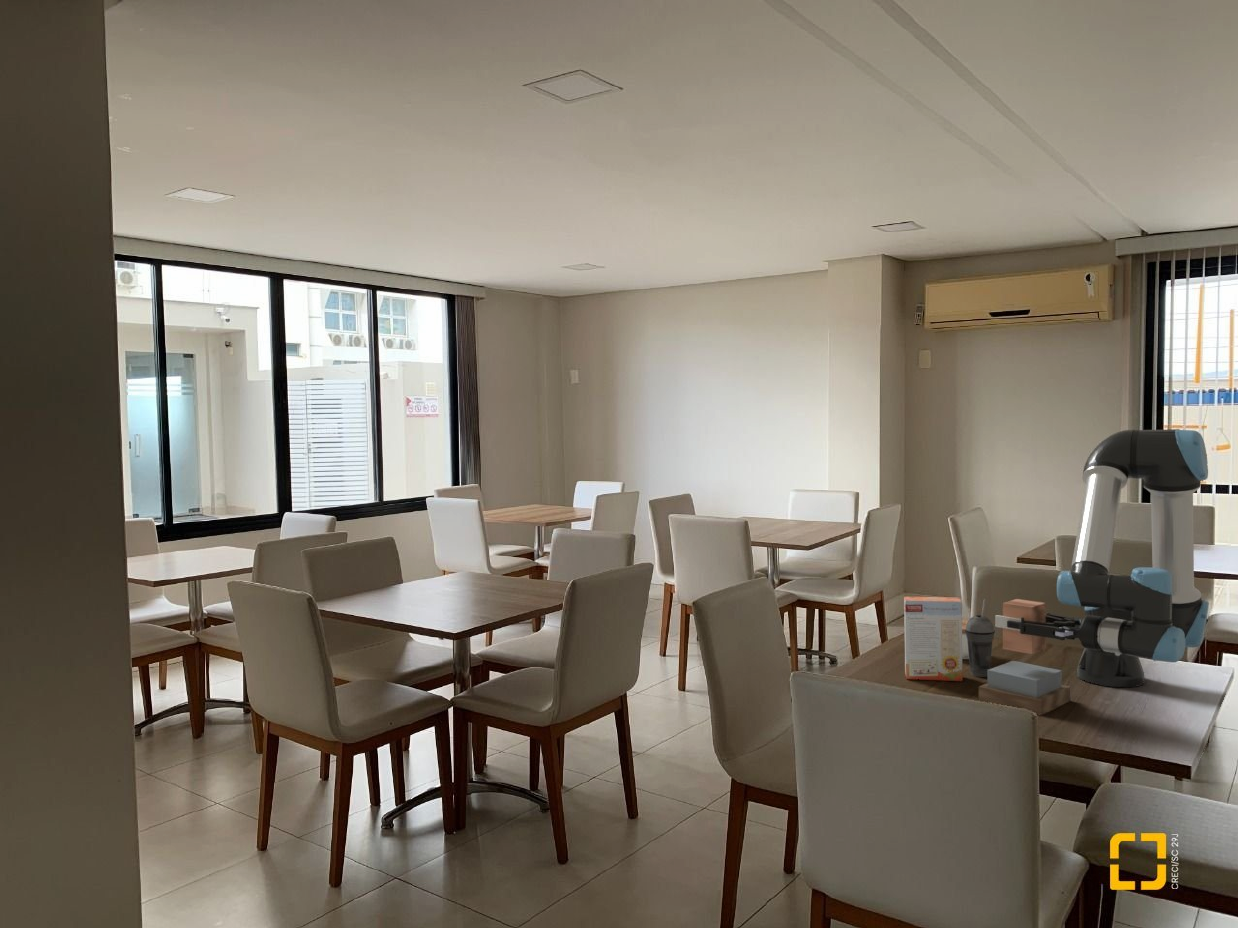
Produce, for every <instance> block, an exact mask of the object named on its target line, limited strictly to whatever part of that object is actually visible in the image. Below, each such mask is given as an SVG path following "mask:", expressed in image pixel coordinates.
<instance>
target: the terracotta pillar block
mask: <svg viewBox="0 0 1238 928" xmlns="http://www.w3.org/2000/svg"><path fill="white" fill-rule="evenodd" d="M1046 614H1047V604H1046V602H1041V601H1037V600H1036V601H1035V600H1029V599H1027V600H1026V599H1021V598H1015V599H1012V600H1009V601H1004V602H1003V603H1002V616H1006V617H1012V618H1019V619H1021V618H1024V620H1025V621H1033V622H1046ZM1046 638H1047V637H1041V636H1034V635H1027V634H1021V633H1020V631H1018V630H1012V629H1006V628H1002V650H1006V651H1013V652H1017V653H1023V654H1029V655H1034V654H1036V653H1039V652H1041V651H1044V650H1047V649H1046V645H1047V642H1046V641H1047V639H1046Z"/></svg>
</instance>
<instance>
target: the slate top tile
mask: <svg viewBox="0 0 1238 928" xmlns="http://www.w3.org/2000/svg"><path fill="white" fill-rule="evenodd" d="M1062 675H1063V671H1062V670H1061V669H1057V668H1050V667H1046V666H1041V665H1035V664H1031V663H1026V662H1022V661H1018V660H1017V661H1015V660H1011V661H1008V662H1006V663H1003V664H1000V665H998V666H995V667H993V668H990V669H989V670H987V680H986V681H987V687H991V688H996V689H1000V690H1005V691H1009V692H1013V693H1018V694H1022V695H1026V696H1031V697H1035V698H1038V697H1040V696H1042V695H1045V694H1047V693H1049V692H1052V691H1054V690H1056V689H1059V688H1061V687H1062V685H1063V683H1062V682H1063V678H1062V677H1063V676H1062Z"/></svg>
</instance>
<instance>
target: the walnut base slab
mask: <svg viewBox="0 0 1238 928" xmlns="http://www.w3.org/2000/svg"><path fill="white" fill-rule="evenodd" d="M979 700H980V701H979ZM978 701H979V702H981V701H985V702H984V703H986V702H992V703H996V704H1001V705H1007V706H1012V707H1017V708H1026V709H1028V710H1032V711H1033V712H1036V713H1037V714H1040V715H1039V716H1043V715H1045V714H1047V713H1049V712H1051V711H1053V710H1055V709H1057V708H1059V707H1061V706H1063V705H1065V704H1067V703H1069V702H1070V701H1071V686H1069V685H1063V684H1062V687H1061V688H1059V689H1056V690H1054V691H1052V692H1049V693H1047V694H1045V695H1042V696H1040V697H1038V698H1035V697H1031V696H1026V695H1022V694H1018V693H1013V692H1009V691H1005V690H1000V689H996V688H991V687H987V683H983V684H982V685H979V686H978ZM1054 708H1055V709H1054ZM1050 710H1051V711H1050ZM1046 712H1047V713H1046ZM1044 713H1045V714H1044ZM1037 714H1036V715H1037ZM1042 714H1043V715H1042Z"/></svg>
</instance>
